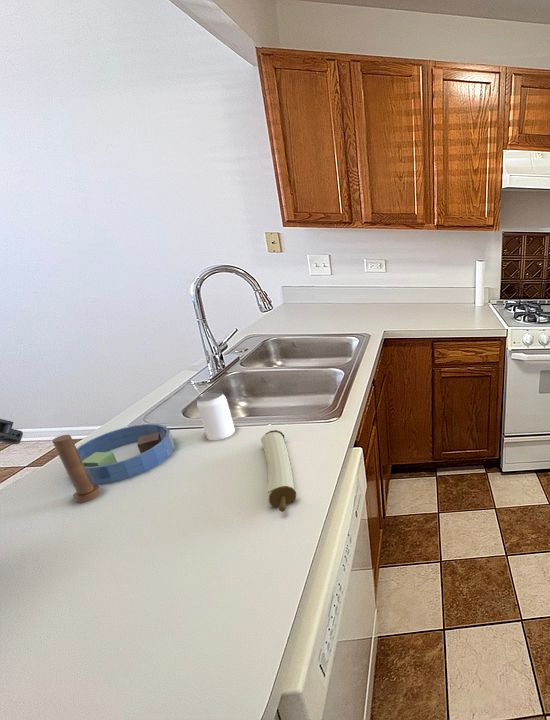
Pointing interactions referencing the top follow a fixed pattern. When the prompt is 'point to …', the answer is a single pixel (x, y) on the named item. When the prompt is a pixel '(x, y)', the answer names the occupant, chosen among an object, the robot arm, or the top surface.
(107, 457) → the block sage
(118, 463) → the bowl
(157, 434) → the block walnut
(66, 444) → the brown wooden rod
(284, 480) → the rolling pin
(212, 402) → the can
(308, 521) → the top surface
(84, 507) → the top surface
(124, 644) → the top surface
